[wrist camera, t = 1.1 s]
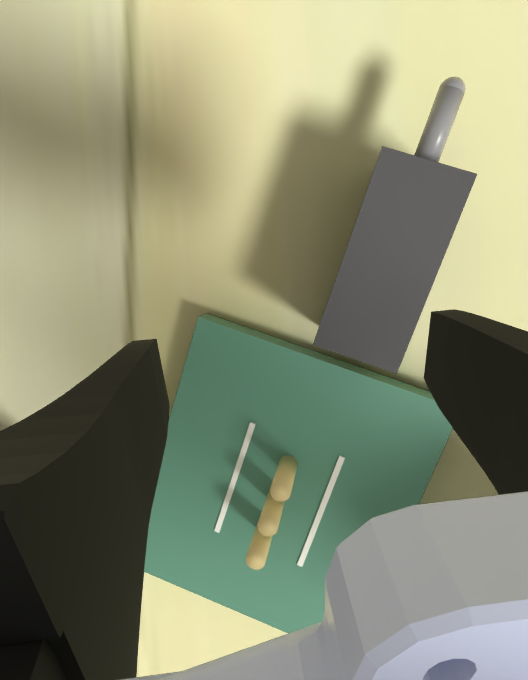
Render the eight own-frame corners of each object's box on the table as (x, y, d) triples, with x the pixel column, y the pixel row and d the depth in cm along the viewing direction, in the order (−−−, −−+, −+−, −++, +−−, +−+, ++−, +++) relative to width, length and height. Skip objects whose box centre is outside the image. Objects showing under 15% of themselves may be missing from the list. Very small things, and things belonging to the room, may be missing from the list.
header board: (454, 400, 24) (478, 432, 19) (349, 637, 27) (349, 710, 23) (207, 313, 25) (177, 325, 21) (138, 549, 29) (101, 601, 24)
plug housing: (478, 116, 21) (517, 75, 16) (386, 349, 24) (396, 374, 19) (401, 95, 22) (416, 48, 17) (319, 326, 24) (312, 344, 19)
